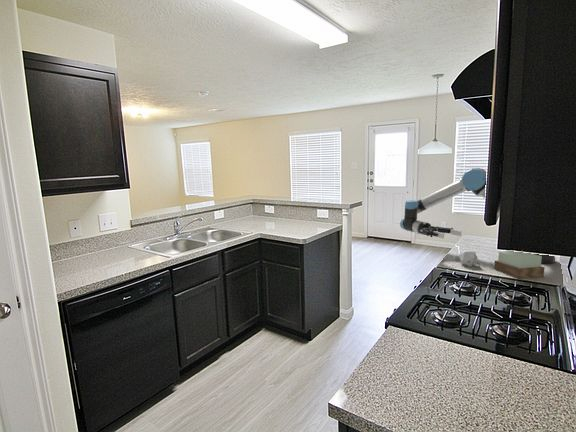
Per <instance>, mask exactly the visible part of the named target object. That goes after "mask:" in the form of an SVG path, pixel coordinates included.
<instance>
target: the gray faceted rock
mask: <svg viewBox="0 0 576 432" xmlns="http://www.w3.org/2000/svg"><path fill="white" fill-rule="evenodd" d="M457 256H458V258H459V261H460V263H461V265H464V266H466V267H473V265H475V264H477V263H478V262H479V259H478V255H477V253H476V251H473V250H469V249H465V250H463V251H462V252H461V253H459V254H458V255H457Z"/></svg>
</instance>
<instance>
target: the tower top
mask: <svg viewBox="0 0 576 432" xmlns="http://www.w3.org/2000/svg"><path fill="white" fill-rule="evenodd" d="M541 260H542V256H539V255H535V254H531V253H523V252H514V251H513V250H502V251H501V250H500V251H498V259H497V261H499V262H502V263H505V264H508V265H511V266H514V267H517V268H531V267H542V263H541Z"/></svg>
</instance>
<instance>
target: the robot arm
mask: <svg viewBox="0 0 576 432" xmlns="http://www.w3.org/2000/svg"><path fill="white" fill-rule="evenodd" d="M486 172H487V171H486V170H485V169H483V168H480V167H478V168H477V167H475V168H470V169H468V170H466V171H465V172H464V173H463V175H462V176H461V177H460V178H459V180H457V181H455V182H453V183H451V184H449V185H447V186H444V187H443V188H440V189H438V190H437V191H434V192H432V193H431V194H428V195H427V196H425V197H423V198H421V199H418V200H410V199H408V200H406V201H405V203H404V204H405V205H404V217H403V218H402V219H401V220H400V223H399V226H400V228H401V229H402V230H404V231H407V232H413V233H417V235H419V234H420V235H423V236H426V237H430V238H433V237H435V238H439V239H445V234H450V235H453V236H456V237H457V236H458V237H462V233H463V232H462V231H461V230H456V229H454V228H453V227H451V228H449V227H441V226H434V225H432V224H431V223H429V222H425V221H421V220H418V214H420V213H423V211H427V210H428V209H429V208H433V207H434V206H437V205H438V204H441V203H443V202H445V201H447V200H449V199H451V198H454V197H456V196H458V195H460V194H462V193H465V192H470V191H471V193H473V194H474V195H475V196H476V197H482V198H483V199H485V185H486ZM535 255H539V254H535ZM539 256H542V260H541V264H554V262H555V263H556V256H555V255H554V256H549V255H539Z"/></svg>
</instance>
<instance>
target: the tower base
mask: <svg viewBox="0 0 576 432" xmlns="http://www.w3.org/2000/svg"><path fill="white" fill-rule="evenodd" d="M493 265H494V266H493V270H495V271H497V272H499V273H501V274H502V273H503V274H505V275H508V276H510V277H513V278H515V279H517V280H518V279H533V278H543V277H544V276H545V266H544V267H543V266H541V267H531V268H517V267H514V266H511V265H508V264H505V263H502V262H499V261H498V260H494V264H493Z"/></svg>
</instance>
